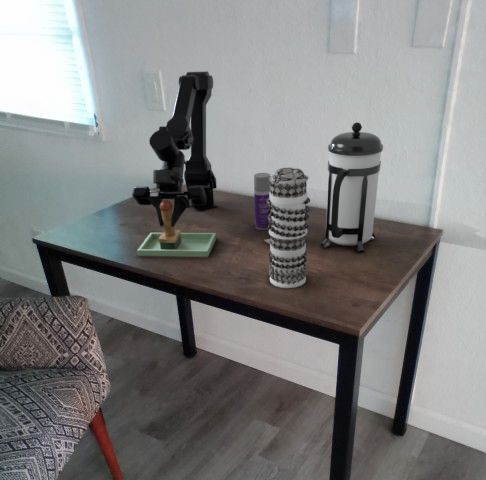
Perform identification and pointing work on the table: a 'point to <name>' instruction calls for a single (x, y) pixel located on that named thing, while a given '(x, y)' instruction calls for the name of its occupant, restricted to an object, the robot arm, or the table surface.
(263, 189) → the container
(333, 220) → the coffee press
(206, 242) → the tray
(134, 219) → the table surface
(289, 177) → the decorative candle
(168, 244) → the wooden rubber stamp
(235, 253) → the table surface
